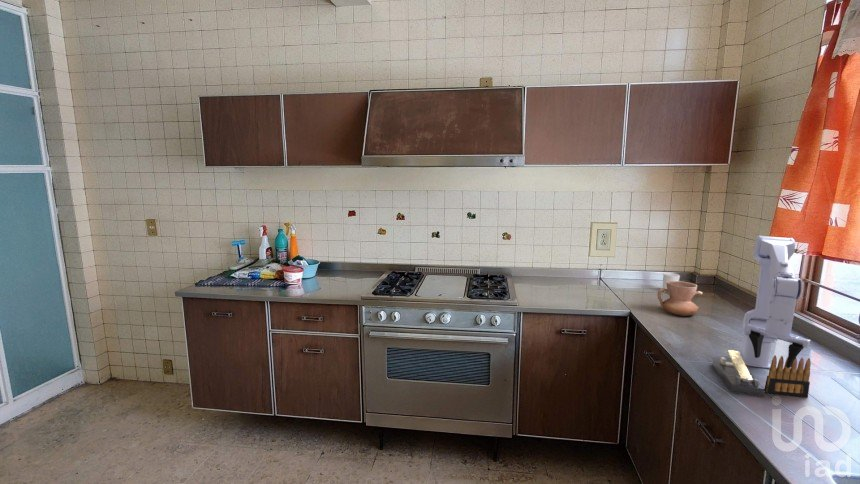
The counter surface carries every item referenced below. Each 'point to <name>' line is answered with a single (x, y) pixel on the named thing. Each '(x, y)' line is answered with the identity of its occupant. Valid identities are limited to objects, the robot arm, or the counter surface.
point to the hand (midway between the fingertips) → (772, 361)
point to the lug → (723, 362)
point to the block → (737, 380)
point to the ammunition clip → (788, 378)
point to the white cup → (669, 278)
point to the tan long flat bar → (740, 366)
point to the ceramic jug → (679, 298)
